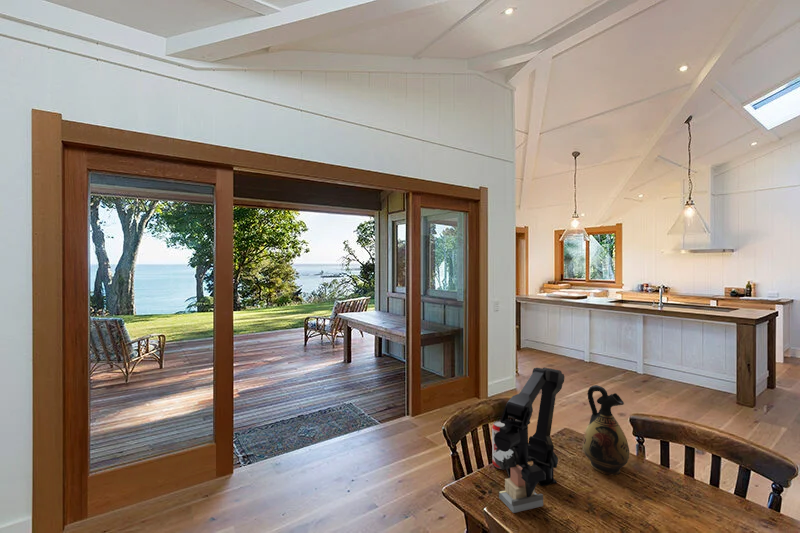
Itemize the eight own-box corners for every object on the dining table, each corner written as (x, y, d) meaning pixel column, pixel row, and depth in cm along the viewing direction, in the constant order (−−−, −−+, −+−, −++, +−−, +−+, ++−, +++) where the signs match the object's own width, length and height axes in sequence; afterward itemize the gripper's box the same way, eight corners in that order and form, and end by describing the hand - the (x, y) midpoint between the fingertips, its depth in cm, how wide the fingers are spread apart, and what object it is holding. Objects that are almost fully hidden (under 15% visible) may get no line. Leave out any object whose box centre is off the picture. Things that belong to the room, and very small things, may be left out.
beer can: (510, 470, 137) (509, 427, 137) (493, 469, 138) (492, 426, 138) (508, 462, 143) (508, 421, 143) (492, 460, 144) (491, 419, 144)
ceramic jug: (636, 468, 137) (634, 388, 137) (620, 484, 127) (619, 398, 127) (589, 451, 150) (587, 378, 150) (571, 465, 140) (570, 386, 140)
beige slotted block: (523, 486, 123) (523, 475, 123) (534, 497, 117) (534, 485, 117) (505, 490, 121) (504, 478, 121) (515, 502, 115) (515, 489, 115)
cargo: (520, 477, 122) (520, 465, 122) (528, 484, 118) (528, 471, 118) (510, 479, 120) (510, 467, 120) (517, 486, 117) (517, 474, 116)
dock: (527, 491, 124) (527, 481, 124) (543, 505, 116) (543, 494, 116) (499, 497, 121) (498, 487, 121) (513, 513, 113) (513, 501, 113)
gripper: (482, 431, 126) (483, 477, 126) (514, 458, 108) (515, 511, 108) (510, 427, 129) (511, 471, 129) (546, 452, 111) (547, 503, 111)
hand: (519, 488), depth 119 cm, fingers open, 9 cm apart
